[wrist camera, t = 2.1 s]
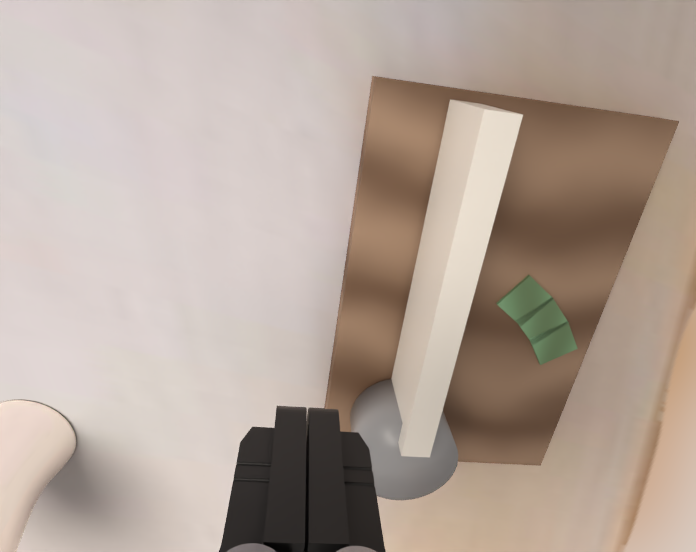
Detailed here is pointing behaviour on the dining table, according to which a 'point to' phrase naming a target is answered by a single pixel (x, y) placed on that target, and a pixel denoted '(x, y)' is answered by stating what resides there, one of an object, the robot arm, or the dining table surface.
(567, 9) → the dining table surface
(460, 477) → the dining table surface
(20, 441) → the beer glass
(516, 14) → the dining table surface
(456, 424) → the brown wooden board
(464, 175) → the lever handle
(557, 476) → the dining table surface
